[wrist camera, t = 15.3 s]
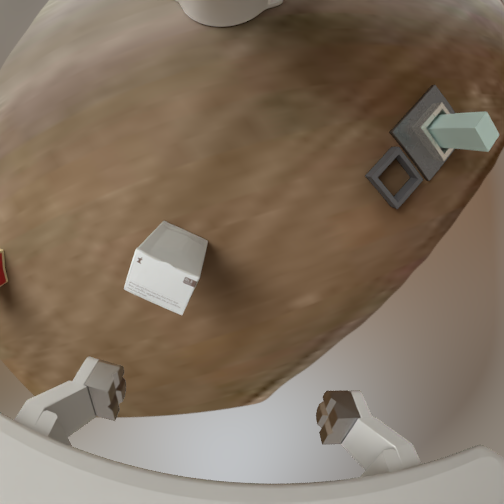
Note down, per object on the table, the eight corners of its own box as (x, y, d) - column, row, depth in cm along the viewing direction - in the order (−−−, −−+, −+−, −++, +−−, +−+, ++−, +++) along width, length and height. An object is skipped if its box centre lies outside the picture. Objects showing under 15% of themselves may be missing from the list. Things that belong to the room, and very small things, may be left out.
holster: (390, 206, 46) (397, 209, 43) (364, 175, 44) (371, 177, 42) (415, 177, 44) (423, 179, 42) (391, 146, 42) (398, 146, 40)
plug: (434, 147, 41) (488, 151, 28) (421, 129, 40) (475, 128, 27) (445, 133, 40) (499, 134, 27) (432, 115, 39) (486, 111, 26)
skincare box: (151, 250, 47) (118, 290, 33) (164, 217, 45) (132, 247, 31) (197, 271, 48) (180, 319, 34) (212, 240, 47) (200, 278, 33)
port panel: (426, 180, 44) (438, 183, 40) (389, 132, 42) (401, 131, 38) (464, 132, 41) (477, 132, 37) (431, 85, 38) (444, 82, 35)
